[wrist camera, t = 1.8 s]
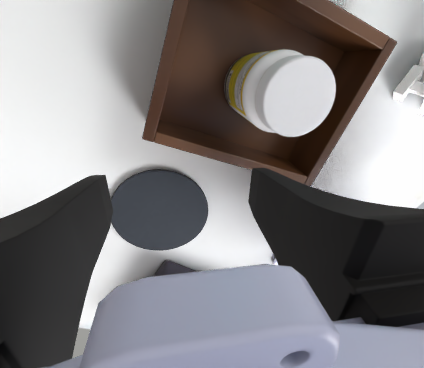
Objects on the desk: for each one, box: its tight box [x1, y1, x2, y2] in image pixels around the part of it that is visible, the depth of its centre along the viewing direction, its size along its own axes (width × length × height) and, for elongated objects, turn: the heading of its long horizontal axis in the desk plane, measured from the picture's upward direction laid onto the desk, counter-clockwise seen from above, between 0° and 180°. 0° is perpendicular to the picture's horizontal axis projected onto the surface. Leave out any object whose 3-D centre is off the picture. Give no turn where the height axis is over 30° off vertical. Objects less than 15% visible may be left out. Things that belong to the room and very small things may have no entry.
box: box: [142, 0, 397, 186], centre depth 17 cm, size 15×12×4 cm
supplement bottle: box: [224, 49, 336, 137], centre depth 15 cm, size 5×5×8 cm
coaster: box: [111, 169, 208, 250], centre depth 24 cm, size 10×10×1 cm
